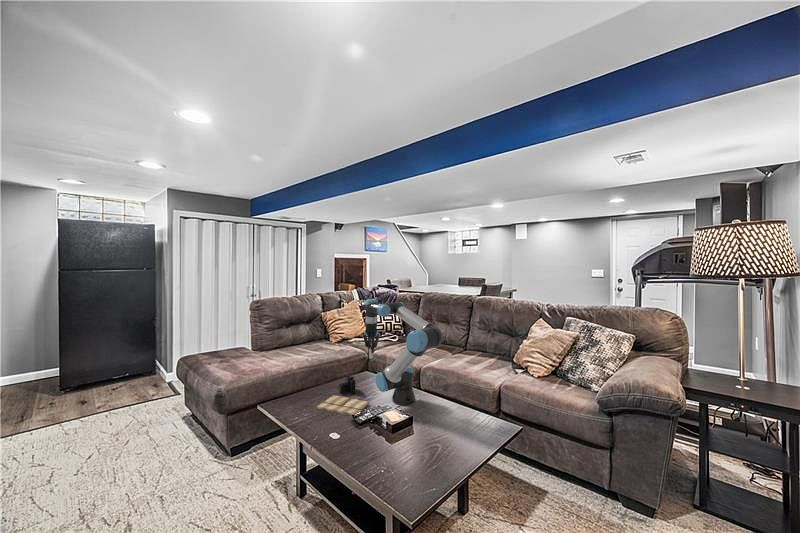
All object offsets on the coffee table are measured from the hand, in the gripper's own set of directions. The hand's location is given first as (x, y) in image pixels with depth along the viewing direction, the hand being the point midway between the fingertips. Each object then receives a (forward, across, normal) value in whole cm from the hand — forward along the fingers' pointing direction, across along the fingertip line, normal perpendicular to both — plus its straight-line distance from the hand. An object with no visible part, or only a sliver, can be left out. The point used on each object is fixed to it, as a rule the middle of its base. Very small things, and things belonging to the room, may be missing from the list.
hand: (371, 357), depth 222 cm
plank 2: (+26, +2, +16) cm, 30 cm away
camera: (+27, +20, -2) cm, 34 cm away
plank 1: (+26, +16, +16) cm, 34 cm away
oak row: (+26, +9, +25) cm, 37 cm away
